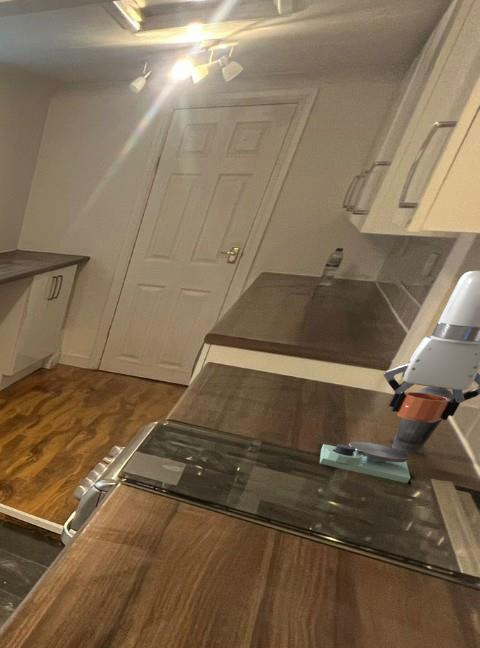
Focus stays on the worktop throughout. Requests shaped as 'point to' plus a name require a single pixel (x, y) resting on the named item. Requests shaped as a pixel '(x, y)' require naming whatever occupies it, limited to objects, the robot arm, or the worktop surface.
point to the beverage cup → (418, 427)
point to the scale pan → (378, 453)
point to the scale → (364, 465)
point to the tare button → (345, 449)
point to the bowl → (422, 407)
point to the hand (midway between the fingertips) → (418, 413)
